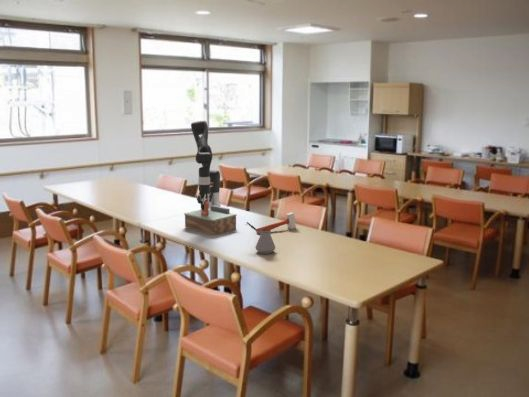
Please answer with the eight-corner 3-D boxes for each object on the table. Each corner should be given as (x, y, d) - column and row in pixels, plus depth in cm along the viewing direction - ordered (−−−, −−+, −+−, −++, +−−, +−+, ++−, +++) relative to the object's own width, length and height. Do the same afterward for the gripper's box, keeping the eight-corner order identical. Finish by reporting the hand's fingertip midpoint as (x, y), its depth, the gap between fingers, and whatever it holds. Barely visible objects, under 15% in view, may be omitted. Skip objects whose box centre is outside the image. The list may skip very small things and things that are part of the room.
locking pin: (205, 218, 351) (204, 200, 348) (208, 219, 348) (208, 201, 346) (201, 219, 348) (201, 201, 346) (204, 220, 346) (204, 202, 343)
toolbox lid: (207, 209, 368) (207, 204, 367) (236, 215, 350) (236, 209, 350) (184, 214, 352) (184, 208, 352) (213, 221, 335) (213, 215, 334)
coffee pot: (279, 252, 302) (279, 226, 299) (265, 256, 294) (265, 230, 291) (253, 244, 316) (253, 220, 313) (239, 248, 308) (239, 223, 305)
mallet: (257, 225, 337) (294, 212, 353) (254, 224, 340) (291, 211, 355) (259, 241, 340) (296, 227, 356) (256, 239, 343) (293, 226, 358)
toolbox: (206, 222, 370) (206, 209, 368) (236, 229, 352) (236, 215, 350) (185, 227, 355) (184, 214, 353) (214, 235, 337) (214, 221, 335)
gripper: (208, 181, 351) (208, 206, 354) (192, 184, 340) (193, 210, 344) (216, 182, 346) (216, 208, 350) (200, 185, 336) (200, 211, 339)
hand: (204, 208), depth 347 cm, fingers closed on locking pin, 3 cm apart
